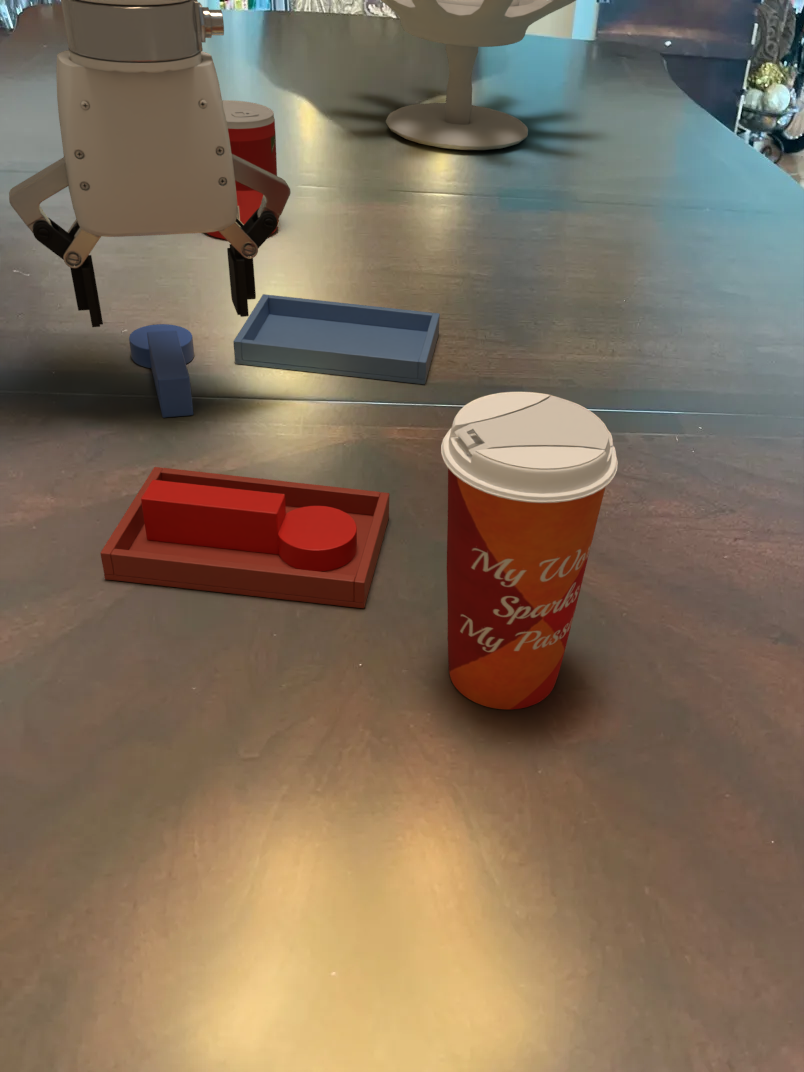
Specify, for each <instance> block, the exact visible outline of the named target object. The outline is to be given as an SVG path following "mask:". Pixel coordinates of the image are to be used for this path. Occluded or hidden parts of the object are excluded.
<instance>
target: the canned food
mask: <svg viewBox="0 0 804 1072" xmlns="http://www.w3.org/2000/svg"><path fill="white" fill-rule="evenodd" d="M222 102H223V107H224V112H225V116H226V121H227V126H228V133H229V139H230V146H231V153H232V154H233V155H236V156H238V157H240V158H242V159H244V160H246V161H248V162H250V163H252V164H254V165H256V166H258V167H260V168H262V169H264V170H266V171H268V172H270V173H272V174H274V175H276V176H278V166H277V164H278V163H277V162H278V161H277V159H278V158H277V137H276V136H277V134H276V119H275V112H274V111H273V109H272V108H270V107H268V106H266V105H263V104H260V103H257V102H251V101H243V100H229V99H228V100H227V99H224V100H223V99H222ZM235 185H236V195H237V218H238V219H239V220H240V221H241V222H242V223H243V224H245V223H246V222H247V221H248V219H249V218H250V217H251V216H252V215H253V214H254V213H255V211H256V210H257V209H258V208H259V207H260V205H261V203H262V202H261V201H262V199H263V194H262V193H260V192H258V191H256V190H254V189H252V188H250V187H248V186H245V185H243V184H241V183H239V182H237V181H235ZM279 221H280V218H279V219H278V223H279ZM277 229H278V227H277V228H276V229H275V230H274V231H273V233H272V234H271V235H273V234H274V233H275V232H276V231H277ZM205 234H207V235H209V236H211V237H213V238H216V239H221V240H227V239H226V238H225V237H224V236H223V235H222V234H221V233H220V232H219V231H215V232H206V233H205Z"/></svg>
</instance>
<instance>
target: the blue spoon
mask: <svg viewBox="0 0 804 1072" xmlns="http://www.w3.org/2000/svg"><path fill="white" fill-rule="evenodd" d="M128 342H129V348H130V355H131V360H132V361H133V363H135V364H136V365H138V366H141V367H143V368H147V369H151V373H152V377H153V381H154V386H155V390H156V391H155V392H156V395H157V399H158V405H159V408H160V412H161V417H162V418H175V417H186V416H187V417H188V416H193V415H194V405H193V396H192V387H191V385H192V384H191V378H190V374H189V371H188V367H187V364H189V363H191V361H192V360H193V359H194V358H195V348H194V338H193V334H192V332H191V331H190V330H189V329H187V328H185V327H183V326H180V325H175V324H168V323H159V324H149V325H143V326H141V327H139V328H135V329H134V330H133V331H131V333H130V334H129V336H128Z"/></svg>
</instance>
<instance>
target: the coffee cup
mask: <svg viewBox="0 0 804 1072" xmlns="http://www.w3.org/2000/svg"><path fill="white" fill-rule="evenodd" d="M613 441H614V440H613V436H612V433H611V432H610V431H609V429H608V428H607V426H606V423H604V421H603V420H601V418H600V417H599V416H598V415H596V414H595V413H594V412H593V411H591V410H589V409H588V408H586V407H584V406H582V405H580V404H578V403H576V402H573V401H571V400H568V399H565V398H562V397H559V396H556V395H551V394H548V393H541V392H535V391H533V392H532V391H505V392H497V393H491V394H488V395H483V396H481V397H478V398H475V399H473V400H471V401H470V402H468V403H466V404H465V405H464V406H462V408H460V409H459V411H458V412H457V414H456V415H455V416H454V419H453V421H452V424H451V427H450V428H449V429H448V431H447V432H446V434H445V436H444V437H443V438H442V441H441V446H440V454H441V457H442V461H443V463H444V464H445V466H446V468H447V525H446V526H447V528H446V529H447V531H446V533H447V534H446V597H447V598H446V599H447V602H446V603H447V661H448V673H449V678H450V681H451V682H452V685H453V686H454V687H455V689H456V690H457V691H458V692H459V693H460V694H461V695H463V697H465V698H467V699H468V700H470V701H472V702H474V703H476V704H478V705H481V706H484V707H487V708H491V709H496V710H497V709H498V710H521V709H525V708H528V707H531V706H534V705H537V704H538V703H540V702H542V701H543V700H545V699H546V698H547V697H548V696H549V695H550V694H551V693H552V691H553V689H554V687H555V685H556V683H557V681H558V680H557V679H558V677H559V674H560V671H561V666H562V663H563V659H564V657H565V656H564V655H565V652H566V648H567V644H568V641H569V637H570V632H571V628H572V624H573V621H574V616H575V612H576V607H577V605H578V602H579V601H578V600H579V596H580V592H581V589H582V584H583V581H584V576H585V572H586V569H587V564H588V560H589V555H590V552H591V547H592V544H593V539H594V535H595V531H596V528H597V523H598V518H599V514H600V511H601V507H602V503H603V499H604V495H605V490H606V487H607V486H608V485H609V484H610V483H611V482H612V481H613V479H614V478H615V476H616V474H617V471H618V463H619V461H618V458H617V457H618V456H617V452H616V447H615V446H614V442H613Z"/></svg>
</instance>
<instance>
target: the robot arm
mask: <svg viewBox="0 0 804 1072" xmlns="http://www.w3.org/2000/svg"><path fill="white" fill-rule="evenodd" d="M60 2H61V3H60V5H61V11H62V16H63V23H64V29H65V35H66V41H67V46H68V49H66V50H63V51H60V52H57V54H56V67H55V68H56V70H55V73H56V75H55V77H56V78H55V79H56V99H57V111H58V121H59V122H58V123H59V128H60V129H59V130H60V136H61V144H62V145H61V146H62V153H63V157H60V159H58V160H56V161H55V162H53V163H51V164H50V165H48V166H46V167H45V168H43V169H41V170H39V171H38V172H36V173H35V174H33V175H31V176H30V177H28V178H26V179H24V180H23V181H21V182H19V183H18V184H16V185H15V186H13V187H12V188H11V189H10V190H9V192H8V201H9V204H10V207H12V209H13V210H14V211H15V213H16V214H17V215H18V216H19V218H20V219H21V221H22V222H23V224H25V226H26V227H27V228H28V229H29V230H30V231H31V233H32V234H33V237H34V238H35V240H36V241H38V242H39V243H40V244H41V245H43V246H44V247H46V248H47V249H48V250H50V251H51V252H52V253H54V254H55V255H56V256H57V257H59V258H60V259H61V260H62V261H63V262H64V264H65V265H66V266H67V267H69V268H70V273H71V279H72V285H73V290H74V295H75V301H76V306H77V311H89V317H90V322H91V327H92V328H100V327H101V326H103V325H104V322H103V321H104V320H103V315H102V309H101V304H100V297H99V291H98V287H97V285H98V284H97V281H96V275H95V270H94V268H95V267H94V262H93V257H92V254H91V253H92V251H93V249H94V248H95V246H96V245H97V244H98V242H99V241H100V240H101V238H102V237H104V238H105V237H106V238H120V237H121V238H122V237H142V236H143V237H144V236H145V237H147V236H167V235H169V236H170V235H184V234H185V235H187V234H188V235H190V234H207V233H206V232H215V231H219V232H220V233H221V234H222V235H223V236H224V237H225V238H226V239H225V240H226V241H227V242H228V243H229V247H227V248H226V250H227V261H228V262H227V263H228V274H229V284H230V285H229V286H230V297H231V302H232V305H233V307H234V311H235V312H236V315H237V316H240V317H241V318H244V317H249V316H250V314H249V303H248V302H249V300H256V299H257V293H256V292H257V291H256V279H255V266H254V265H255V264H254V258H255V257H257V255H258V253H259V249H260V247H261V246H262V245H263V244H264V243H265V242H266V241H267V239H269V237H270V236H271V235H273V234H274V233H273V231H274V230H275V229H276V228H277V229H278V225H279V222H278V219H279V220H280V217H281V216H282V214H283V211H284V209H285V207H286V205H287V203H288V200H289V198H290V196H291V187H290V186H289V184H288V183H287V182H286V180H285V179H284V178H282V177H280V176H278V175H277V176H276V175H274V174H272V173H270V172H268V171H266V170H264V169H262V168H260V167H258V166H256V165H254V164H252V163H250V162H248V161H246V160H244V159H242V158H240V157H238V156H236V155H233V154H232V153H231V146H230V139H229V133H228V126H227V121H226V116H225V112H224V107H223V102H222V100H223V97H222V91H221V87H220V82H219V77H218V73H217V70H216V66H215V63H214V60H213V56H212V55H211V54H210V53H208V52H205V51H204V50H203V43H206V42H207V41H206V39H212V37H213V36H224V35H225V25H224V24H225V23H224V14H223V11H222V9H209V8H210V7H209V6H203V5H202V3H201V2H199V1H198V0H60ZM235 181H237V182H239V183H241V184H243V185H245V186H248V187H250V188H252V189H254V190H256V191H258V192H260V193H262V194H263V199H262V201H261V202H262V203H261V205H260V207H259V208H258V209H257V210H256V211H255V213H254V214H253V215H252V216H251V217H250V218H249V219H248V221H247V222H246V223H245V224H243V223H242V222H241V221H240V220H239V219H238V218H237V195H236V185H235ZM67 187H68V191H69V195H70V200H71V201H70V202H71V205H72V210H73V212H74V215H75V220H74V221H73V223H72V224H71V225H70V227H69V229H68V230H67V231H66V229H64V228H62V227H61V226H60V225H59V224H58V223H56V222H55V221H54V220H52V219H51V218H50V217H49V216H48V215H47V214H46V212H44V210H43V208H42V207H41V203H43V202H44V201H46V200H47V199H49V198H51V197H53V196H55V195H56V194H57V193H59V192H60V191H63V190H64V189H66V188H67ZM277 229H276V230H277ZM272 233H273V234H272Z"/></svg>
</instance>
